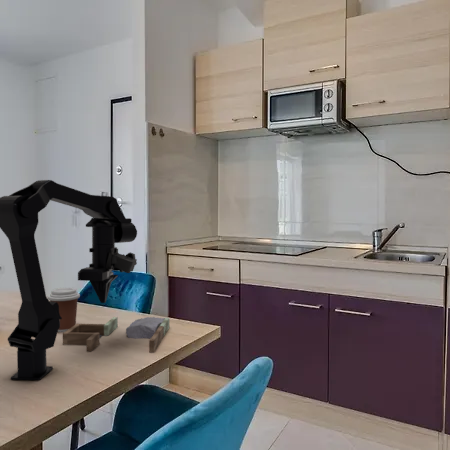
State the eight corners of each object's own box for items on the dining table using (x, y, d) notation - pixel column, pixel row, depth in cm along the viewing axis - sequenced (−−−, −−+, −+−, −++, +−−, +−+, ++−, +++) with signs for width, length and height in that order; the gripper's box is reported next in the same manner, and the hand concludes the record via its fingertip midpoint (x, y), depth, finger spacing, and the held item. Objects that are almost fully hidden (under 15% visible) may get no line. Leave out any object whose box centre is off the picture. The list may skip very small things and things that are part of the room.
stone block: (124, 345, 116) (158, 339, 115) (121, 328, 116) (155, 322, 115) (137, 333, 127) (168, 328, 126) (134, 318, 127) (165, 313, 127)
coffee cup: (86, 326, 127) (86, 288, 127) (65, 334, 118) (65, 293, 118) (62, 323, 130) (62, 286, 130) (41, 331, 122) (40, 291, 121)
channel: (153, 352, 104) (153, 340, 104) (54, 350, 105) (54, 339, 105) (169, 327, 126) (169, 317, 126) (87, 326, 127) (87, 316, 127)
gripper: (121, 247, 98) (121, 311, 99) (142, 242, 117) (142, 296, 117) (76, 246, 99) (76, 310, 99) (105, 241, 118) (104, 295, 118)
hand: (103, 302), depth 108 cm, fingers closed
